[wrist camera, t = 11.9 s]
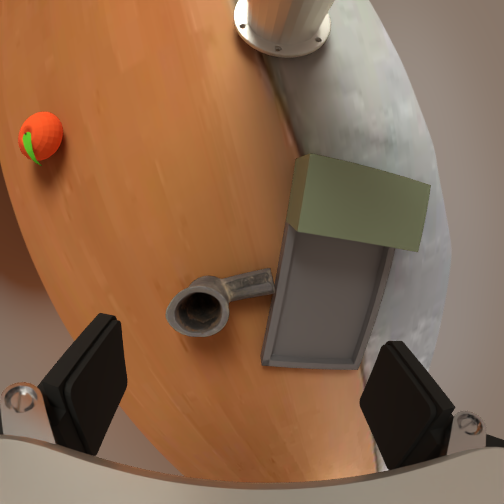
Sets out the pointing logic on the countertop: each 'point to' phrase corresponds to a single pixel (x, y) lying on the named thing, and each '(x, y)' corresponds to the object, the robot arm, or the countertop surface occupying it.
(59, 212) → the countertop surface
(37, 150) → the clementine
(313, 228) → the gray tray
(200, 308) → the pipe
